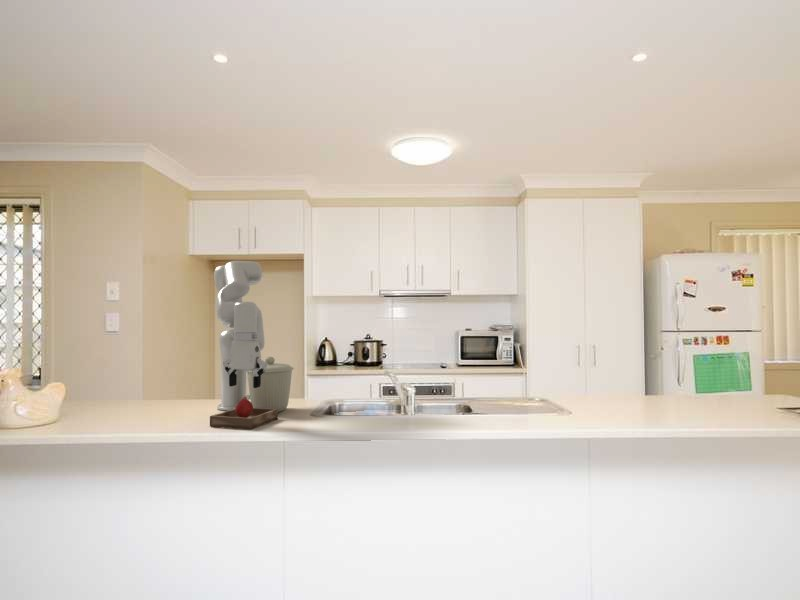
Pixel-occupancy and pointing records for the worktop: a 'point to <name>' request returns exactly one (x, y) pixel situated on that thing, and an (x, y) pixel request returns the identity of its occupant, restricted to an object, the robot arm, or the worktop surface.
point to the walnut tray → (244, 419)
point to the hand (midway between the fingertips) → (244, 386)
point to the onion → (244, 408)
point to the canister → (271, 386)
